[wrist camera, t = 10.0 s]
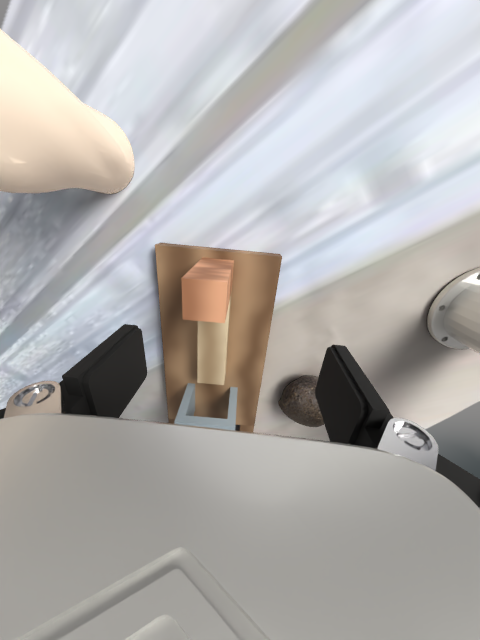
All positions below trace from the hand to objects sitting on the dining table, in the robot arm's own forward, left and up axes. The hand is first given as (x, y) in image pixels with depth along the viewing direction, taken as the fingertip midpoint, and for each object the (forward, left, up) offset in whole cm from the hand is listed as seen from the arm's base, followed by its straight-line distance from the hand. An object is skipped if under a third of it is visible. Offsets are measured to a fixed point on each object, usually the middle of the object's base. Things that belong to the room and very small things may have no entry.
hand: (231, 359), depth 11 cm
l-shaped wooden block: (+3, +8, -20) cm, 21 cm away
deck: (+3, +17, -21) cm, 28 cm away
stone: (-13, +21, -22) cm, 33 cm away
